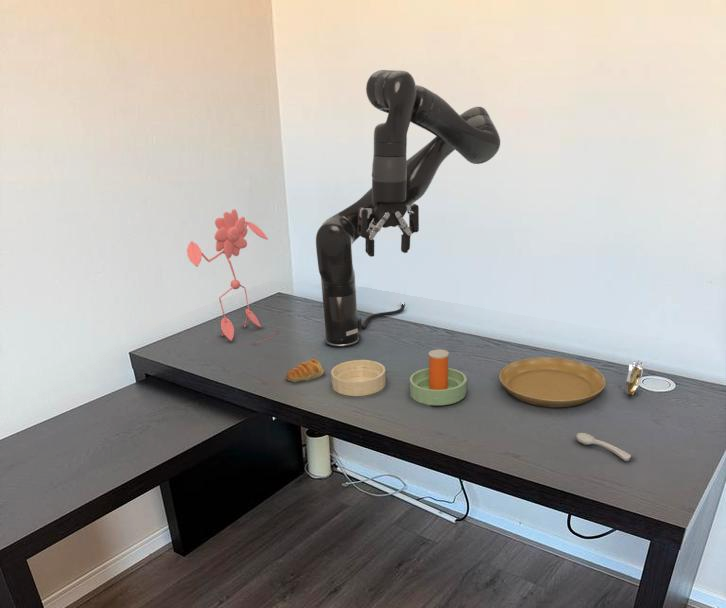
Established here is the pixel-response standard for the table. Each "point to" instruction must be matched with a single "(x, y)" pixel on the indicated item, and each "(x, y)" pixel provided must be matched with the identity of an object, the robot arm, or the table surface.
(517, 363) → the plant saucer
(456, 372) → the sage bowl
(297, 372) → the pastry
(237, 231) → the figurine
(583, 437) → the spoon
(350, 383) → the oatmeal bowl
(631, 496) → the table surface
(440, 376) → the cracker tube
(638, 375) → the ring
